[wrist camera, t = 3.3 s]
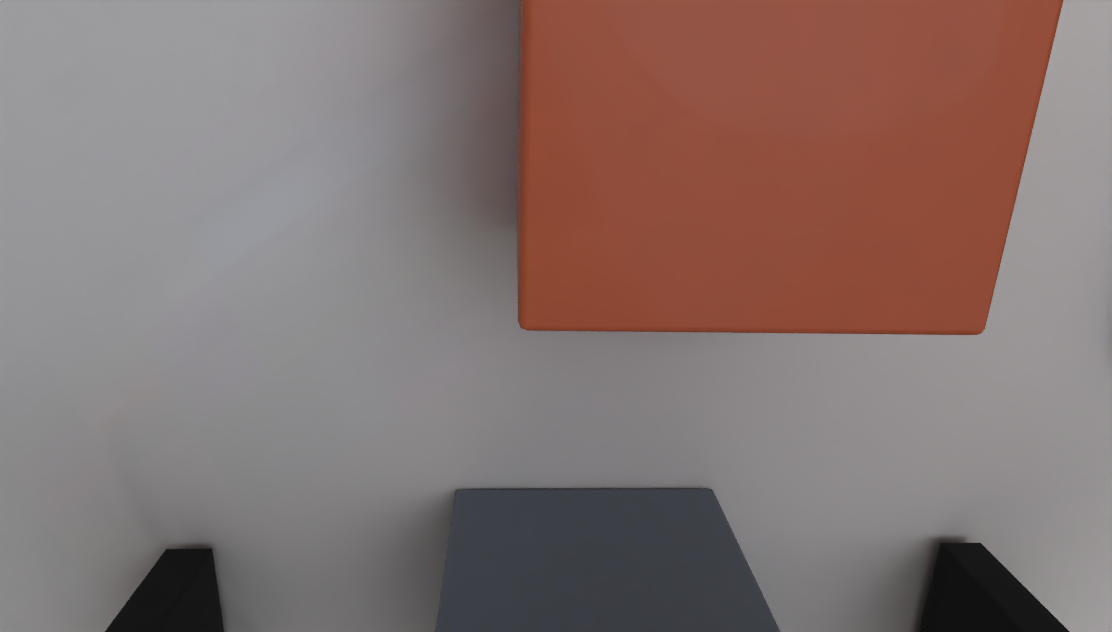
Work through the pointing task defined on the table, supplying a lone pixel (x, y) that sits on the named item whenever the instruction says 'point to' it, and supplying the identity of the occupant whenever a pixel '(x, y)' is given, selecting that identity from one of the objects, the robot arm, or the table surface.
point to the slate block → (596, 564)
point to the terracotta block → (771, 162)
